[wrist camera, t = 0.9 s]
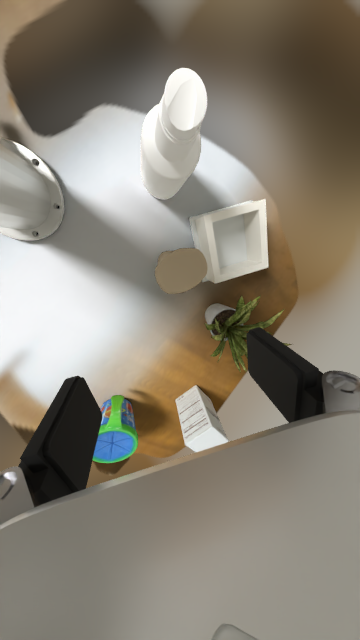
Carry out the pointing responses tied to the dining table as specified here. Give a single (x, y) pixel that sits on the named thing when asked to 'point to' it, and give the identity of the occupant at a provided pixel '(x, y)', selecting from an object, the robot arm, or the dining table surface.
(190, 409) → the supplement box
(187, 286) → the handle
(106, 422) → the snack cup
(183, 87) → the spray bottle
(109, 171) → the dining table surface
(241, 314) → the house plant
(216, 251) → the box
